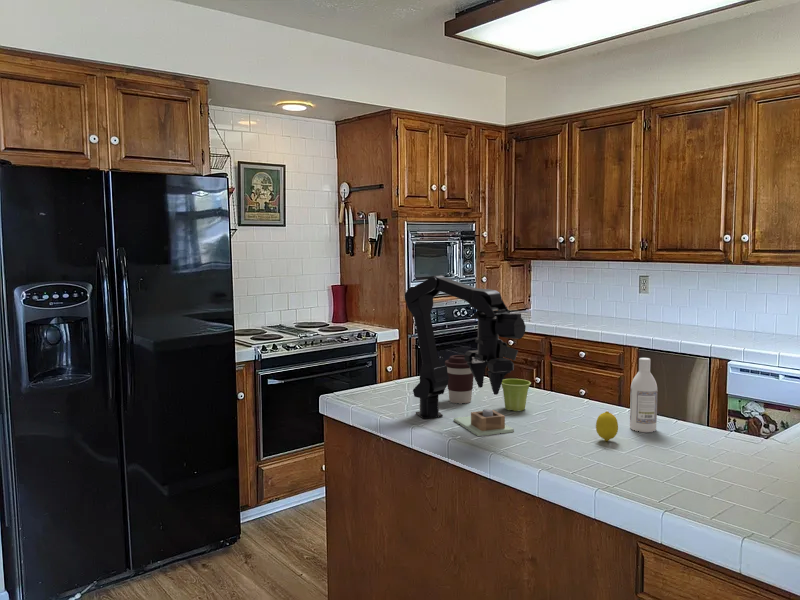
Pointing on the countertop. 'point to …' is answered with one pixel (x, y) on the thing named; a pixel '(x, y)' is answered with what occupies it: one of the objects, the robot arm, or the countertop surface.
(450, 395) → the coffee cup
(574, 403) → the countertop surface
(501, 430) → the keeper board
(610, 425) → the lemon
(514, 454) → the countertop surface
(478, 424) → the link
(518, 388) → the plant pot
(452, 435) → the countertop surface
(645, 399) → the bath foam
